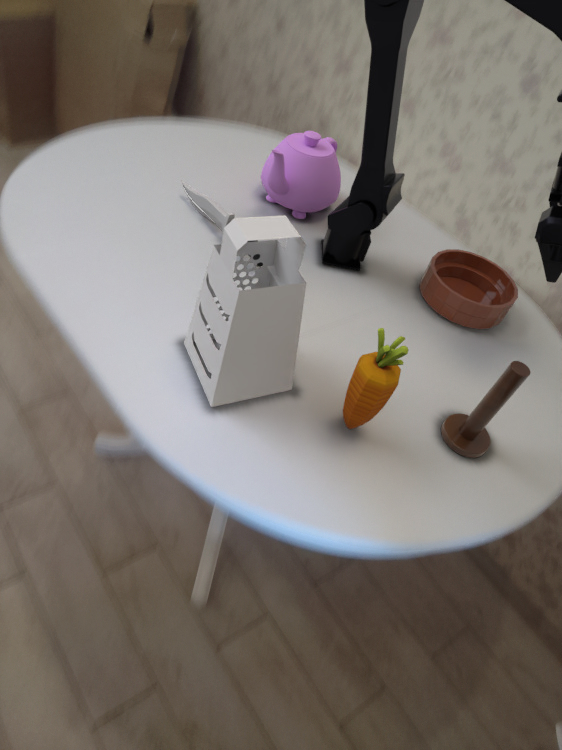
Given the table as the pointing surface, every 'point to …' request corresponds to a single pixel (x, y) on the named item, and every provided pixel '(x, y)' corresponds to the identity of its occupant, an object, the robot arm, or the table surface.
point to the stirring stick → (482, 414)
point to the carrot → (373, 382)
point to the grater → (249, 312)
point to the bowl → (468, 289)
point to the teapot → (303, 173)
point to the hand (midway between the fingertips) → (555, 265)
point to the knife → (212, 211)
